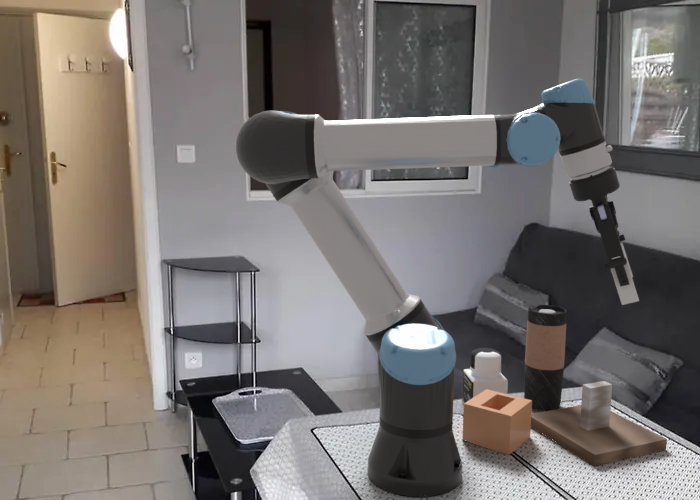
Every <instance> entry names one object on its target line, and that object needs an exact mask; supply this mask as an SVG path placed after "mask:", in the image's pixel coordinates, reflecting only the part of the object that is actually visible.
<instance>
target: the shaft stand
mask: <svg viewBox="0 0 700 500" xmlns="http://www.w3.org/2000/svg"><path fill="white" fill-rule="evenodd" d="M581 391H582V392H581V401H580V402H581V404H579V405H573V406H569V407H567V406H566V407H563V408H559V409H556V410H551V411H539V412H536V413H535V412H534V413H531V429H533V428H534V429H533V430H535V429H536V430H535V431H537V430H538V431H539V432H538V431H537V432H538V433H540V432H541V433H543V434H544V435H543V434H542V435H543V436H545V435H546V436H547V437H546V436H545V437H546V438H548V437H549V438H548V439H550V438H551V439H553V440H554V441H556V442H557V443H556V442H555V443H556V444H558V443H559V444H560V445H559V444H558V445H559V446H561V447H562V446H563V448H564V449H566V450H567V451H569V452H571V453H572V454H574V455H576V456H577V457H579V458H580V459H581V460H584V461H585V462H587V463H588V464H590V465H592V466H593V467H597V466H602V465H606V464H611V463H615V462H620V461H623V460H622V459H624V460H627V459H626V458H628V459H631V458H630V457H632V458H635V457H636V456H637V457H642V456H645V455H650V454H653V453H654V454H655V453H658V452H662V451H667V445H668V444H667V443H668V439H667V438H666V437H663V436H661V435H660V434H658V433H655V432H653V431H651V430H650V429H648V428H645V427H644V426H642V425H639V424H637V423H636V422H633V421H632V420H630V419H627V418H625V417H623V416H622V415H619V414H618V413H616V412H614V411H611V408H612V407H611V406H612V405H611V404H612V393H613V392H612V391H613V384H612V383H610V382H608V381H605V380H603V381H595V382H590V383H584V384H582V390H581ZM541 433H540V434H541ZM551 439H550V440H551ZM553 440H552V441H553ZM554 441H553V442H554Z"/></svg>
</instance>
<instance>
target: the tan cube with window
mask: <svg viewBox="0 0 700 500" xmlns="http://www.w3.org/2000/svg"><path fill="white" fill-rule="evenodd" d="M532 410H533V409H532V400H528V399H524V397H520V396H516V395H511V394H508V393H507V394H504V393H500V392H496V391H492V390H488V389H486V390H484V391H483V392H481V393H480V394H478V395H477V396H475V397H473V398H472V399H470V400H469V401H467V402H466V403H463V412H462V413H463V415H462V416H463V417H462V439H461V440H466V441H468V442H471V443H470V444H472V443H474V444H473V445H475V444H476V446H478V445H479V447H483V448H486V449H489V450H493V451H495V452H499V453H502V454H504V455H505V454H506V455H511V454H512V453H513V452H514V451H515V450H518V448H519V447H520V446H521V445H523V443H525V442H526V441H527V440H529V438H531V429H532V427H531V414H532ZM468 442H467V443H468Z"/></svg>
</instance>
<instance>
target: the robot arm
mask: <svg viewBox="0 0 700 500" xmlns="http://www.w3.org/2000/svg"><path fill="white" fill-rule="evenodd" d="M540 97H541V103H540V104H538V105H535V106H534V107H531V108H529V109H526V110H524V111H520V112H517V113H507V114H504V113H503V114H479V115H450V116H427V117H425V116H424V117H422V116H421V117H419V116H418V117H400V118H399V117H396V118H394V117H393V118H374V119H373V118H372V119H369V118H368V119H347V120H346V119H344V120H339V119H338V120H325V118H323V117H322V116H321V115H320V114H316V113H315V114H297V113H296V112H292V111H285V110H280V111H279V110H264V111H261V112H259V113H255V114H253V115H252V116H251V117H250V118H248V119H247V120H246V121H245V122H244V123H243V125H242V126H241V128H240V129H239V131H238V134H237V138H236V141H235V144H236V145H235V151H236V153H235V154H236V157H237V160H238V162H239V165H240V166H241V168H242V169H243V170H244V173H246V174H247V175H248V176H250V178H252V179H253V180H256V182H260V183H263V184H265V185H266V187H267V189H268V190H269V191H270V193H271V194H272V196H273V197H274V198H275V200H276V202H277V204H281V205H287V206H289V207H291V208H292V210H293V211H294V213H295V215H296V216H297V218H298V220H299V221H300V222H301V224H302V225H303V227H304V228H305V230H306V231H307V232H308V235H309V236H310V238H311V240H313V242H314V243H315V245H316V246H317V248H318V250H319V251H320V253H321V254H322V255H323V257H324V259H325V260H326V262H327V263H328V265H329V267H331V269H332V271H333V272H334V274H335V275H336V277H337V279H339V281H340V283H341V285H342V286H343V288H344V289H345V290H346V293H347V294H348V295H349V297H350V298H351V300H352V301H353V302H354V304H355V306H356V307H357V309H358V310H359V312H360V314H361V315H362V316H363V318H364V320H365V324H364V329H363V333H364V335H365V336H366V338H367V340H368V341H369V343H370V344H371V345H372V347H373V349H374V350H375V352H376V353H377V355H378V356H379V361H380V367H379V369H380V372H379V373H380V374H379V376H380V377H379V379H380V380H379V427H378V430H377V432H376V435H375V438H374V440H373V444H372V447H371V449H370V453H369V455H368V458H367V459H368V460H367V474H368V478H369V479H370V481H371V482H373V484H374V485H376V486H377V487H378V488H381V489H382V490H385V491H387V492H390V493H392V494H397V495H401V496H406V497H421V498H423V497H433V496H438V495H443V494H446V493H448V492H450V491H453V490H454V489H456V487H457V486H459V485H460V483H461V482H462V479H463V476H462V475H463V462H462V459H461V456H460V452H459V449H458V446H457V445H458V444H457V442H456V439H455V438H456V437H455V435H454V431H453V425H454V423H453V422H454V421H453V420H454V393H455V392H454V391H455V390H454V387H455V385H454V384H455V366H456V362H457V353H456V352H457V351H456V349H455V348H456V345H455V341H454V339H453V336H452V335H450V333H448V332H447V331H446V330H445V329H444V328H443V326H442V325H441V322H439V320H438V319H436V318H435V317H434V316H433V315H432V314H431V313H430V311H429V310H428V308H427V307H426V305H425V304H424V302H423V301H422V299H421V298H420V297H419V295H416V294H415V295H414V294H411V293H410V294H409V293H407V292H406V290H405V289H404V287H403V285H402V284H401V283H400V280H399V279H398V278H397V276H396V274H395V273H394V271H393V270H392V269H391V267H390V266H389V264H388V262H387V261H386V260H385V258H384V256H383V255H382V253H381V252H380V250H379V249H378V247H377V246H376V244H375V242H374V241H373V239H372V238H371V236H370V235H369V233H368V232H367V230H366V228H365V227H364V225H363V224H362V222H361V221H360V219H359V217H357V215H356V213H355V211H354V210H353V208H352V206H351V205H350V204H349V202H348V200H347V199H346V198H345V196H344V195H343V193H342V192H341V190H340V189H339V187H338V185H337V184H336V182H335V181H334V177H333V176H334V172H342V171H373V170H374V171H375V170H376V171H377V170H398V169H402V170H403V169H423V168H424V169H425V168H426V169H428V168H453V167H454V168H456V167H457V168H459V167H482V166H483V167H484V166H485V167H486V166H487V167H488V168H489V169H492V170H495V169H499V168H502V167H508V166H521V165H522V166H525V167H535V166H536V167H537V166H540V165H543V164H545V163H547V162H548V161H550V160H551V159H552V158H553V157H554V156H555V155H556V153H557V152H558V153H559V157H560V160H561V164H562V166H563V169H564V172H565V175H566V177H567V178H570V180H569V181H568V183H569V187H570V190H571V194H572V196H573V199H574V200H575V201H577V202H586V201H591V203H592V206H589V207H588V208H589V215H590V217H591V219H592V221H593V222H594V225H595V230H596V232H597V233H598V234H600V237H601V241H602V244H603V248H604V250H605V254H606V258H607V261H608V262H607V263H606V264H604V267H605V270H610V273H611V274H612V277H613V281H614V284H615V287H616V290H617V291H616V292H617V294H618V297H619V301H620V303H621V305H622V306H624V305H629V304H633V303H637V302H640V299H639V295H638V293H637V289H636V285H635V282H634V279H633V278H634V275H633V271H632V269H631V265H630V262H629V260H628V255H627V252H626V250H625V246H624V244H623V242H624V241H626V237H625V235H624V233H623V234H620V231H619V230H618V228H619V223H618V220H617V219H618V218H617V215H616V214H617V211H616V208H615V204H614V200H609V199H608V194H612V193H614V192H616V191H618V190H619V188H620V181H619V178H618V176H617V172H616V168H615V167H613V166H611V165H612V164H613V161H612V157H611V154H610V153H609V152H612V151H613V149H614V148H613V147H612V145H607V142H606V138H605V135H604V132H603V127H602V125H601V121H600V118H599V115H598V111H597V107H596V102H595V100H594V97H593V95H592V93H591V90H590V88H589V85H588V83H587V81H586V80H585V79H583V78H575V79H572V80H569V81H566V82H563V83H561V84H558V85H556V86H553V87H550V88H547V89H544V90H543V91H542V92H541V95H540Z"/></svg>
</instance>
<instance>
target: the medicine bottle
mask: <svg viewBox="0 0 700 500" xmlns="http://www.w3.org/2000/svg"><path fill="white" fill-rule="evenodd" d="M502 355H503V354H501V352H500V351H499V350H496V349H494V348H490V347H489V348H488V347H479V348H476V349H473V350H472V351H471V352H470V363H469V366H470V367H469V368H465V369H463V370H462V371H463V373H462V374H463V375H462V376H463V377H462V395H461V396H462V403H463V404H464V403H466V402H467V401H469V400H470V399H472V398H473V397H475V396H477V395H478V394H480V393H481V392H483V391H484V390H486V389H488V390H492V391H496V392H500V393H504V394H508V388H509V387H508V386H509V380H508V379H507V378H506V377H505V376H504V375H503V374H502V358H503V357H502Z"/></svg>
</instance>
